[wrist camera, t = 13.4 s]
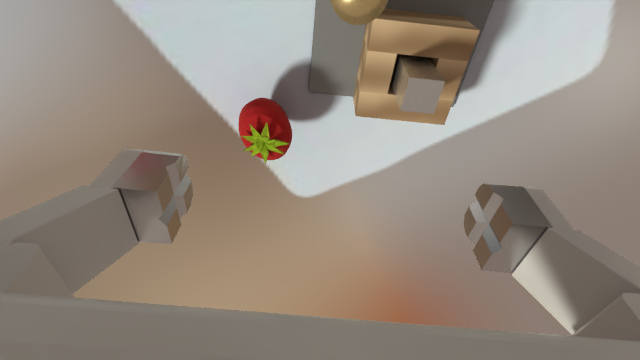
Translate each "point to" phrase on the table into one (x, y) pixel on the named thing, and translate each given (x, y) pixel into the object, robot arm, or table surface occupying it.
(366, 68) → the socket block
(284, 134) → the strawberry
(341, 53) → the mat
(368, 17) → the round bit
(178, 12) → the table surface
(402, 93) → the square bit
